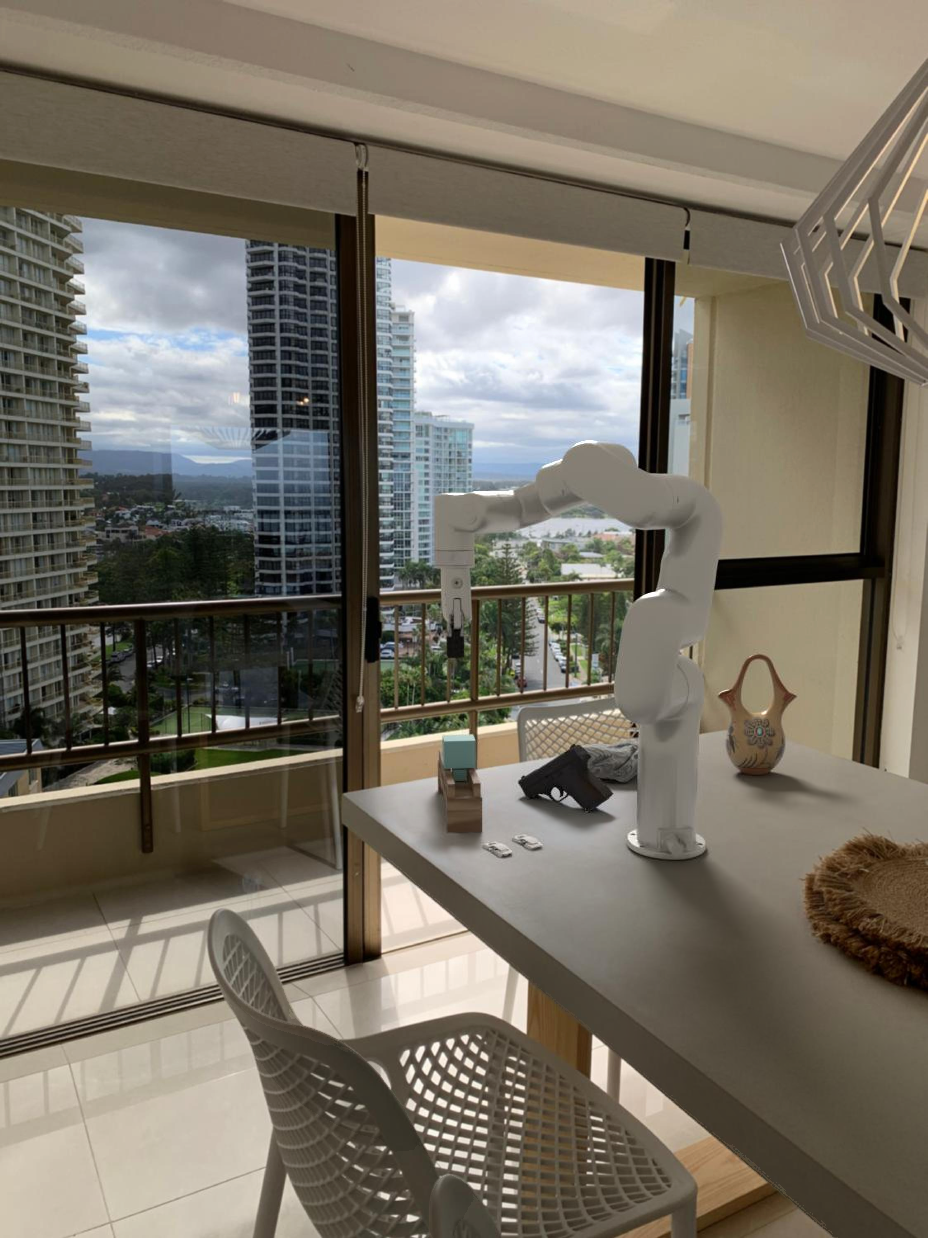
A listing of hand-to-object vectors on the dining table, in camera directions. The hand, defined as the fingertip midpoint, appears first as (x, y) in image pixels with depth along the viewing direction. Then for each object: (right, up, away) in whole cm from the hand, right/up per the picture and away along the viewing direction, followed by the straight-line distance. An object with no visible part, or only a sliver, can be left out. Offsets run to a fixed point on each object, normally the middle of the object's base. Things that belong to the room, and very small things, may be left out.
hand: (455, 657), depth 173 cm
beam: (+1, -28, -4) cm, 28 cm away
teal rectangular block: (+1, -22, -7) cm, 23 cm away
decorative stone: (+32, -25, +16) cm, 44 cm away
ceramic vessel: (+62, -25, +17) cm, 69 cm away
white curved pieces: (+10, -31, -23) cm, 40 cm away
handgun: (+20, -28, -1) cm, 34 cm away
